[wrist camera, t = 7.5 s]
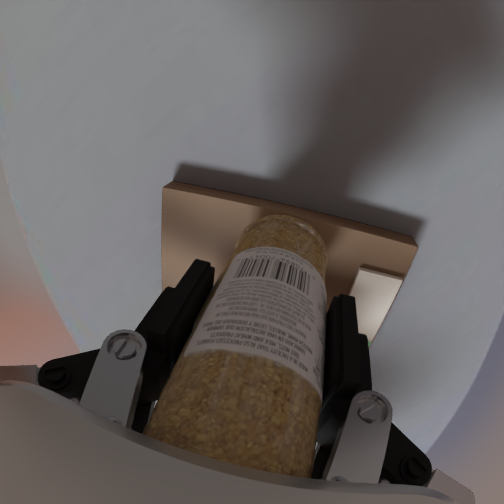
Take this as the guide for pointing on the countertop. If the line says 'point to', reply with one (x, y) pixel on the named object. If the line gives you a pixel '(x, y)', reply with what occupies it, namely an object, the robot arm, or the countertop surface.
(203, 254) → the gauge frame
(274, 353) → the sprinkles bottle
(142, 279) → the countertop surface
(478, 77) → the countertop surface
